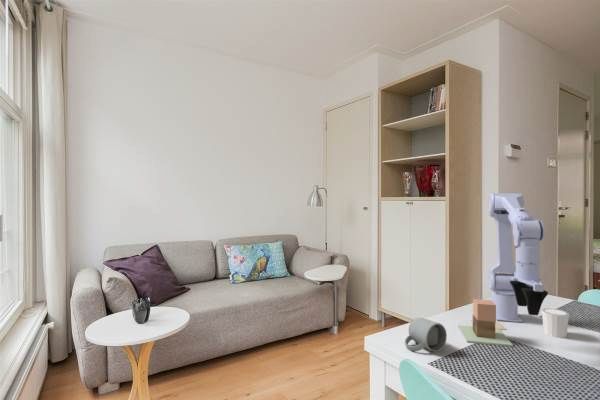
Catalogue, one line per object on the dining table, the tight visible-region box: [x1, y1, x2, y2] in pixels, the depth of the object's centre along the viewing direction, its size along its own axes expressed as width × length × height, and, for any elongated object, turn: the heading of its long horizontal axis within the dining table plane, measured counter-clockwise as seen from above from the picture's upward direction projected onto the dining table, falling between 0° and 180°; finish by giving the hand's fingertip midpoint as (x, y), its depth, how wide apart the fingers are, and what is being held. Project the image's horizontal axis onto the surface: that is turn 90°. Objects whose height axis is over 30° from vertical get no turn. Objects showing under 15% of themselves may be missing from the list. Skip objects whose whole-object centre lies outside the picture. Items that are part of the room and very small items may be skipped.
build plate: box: [457, 325, 514, 347], centre depth 102 cm, size 12×12×1 cm
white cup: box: [541, 308, 570, 339], centre depth 103 cm, size 7×7×7 cm
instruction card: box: [470, 319, 507, 331], centre depth 111 cm, size 6×9×1 cm, turn 76°
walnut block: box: [472, 314, 495, 338], centre depth 102 cm, size 5×5×5 cm
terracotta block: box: [472, 298, 497, 322], centre depth 102 cm, size 5×5×5 cm
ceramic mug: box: [404, 317, 447, 353], centre depth 95 cm, size 11×8×8 cm
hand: (527, 310), depth 95 cm, fingers open, 7 cm apart
